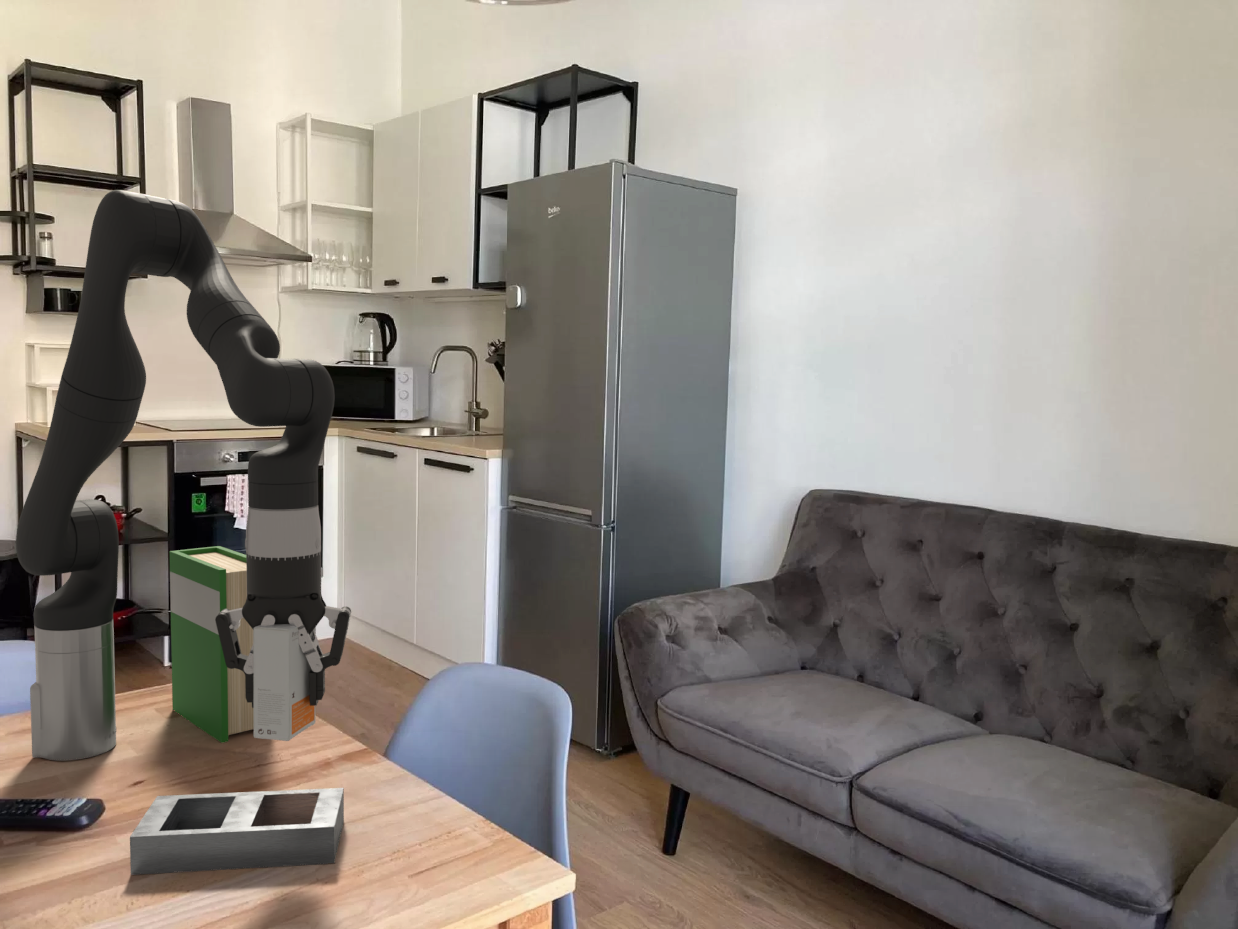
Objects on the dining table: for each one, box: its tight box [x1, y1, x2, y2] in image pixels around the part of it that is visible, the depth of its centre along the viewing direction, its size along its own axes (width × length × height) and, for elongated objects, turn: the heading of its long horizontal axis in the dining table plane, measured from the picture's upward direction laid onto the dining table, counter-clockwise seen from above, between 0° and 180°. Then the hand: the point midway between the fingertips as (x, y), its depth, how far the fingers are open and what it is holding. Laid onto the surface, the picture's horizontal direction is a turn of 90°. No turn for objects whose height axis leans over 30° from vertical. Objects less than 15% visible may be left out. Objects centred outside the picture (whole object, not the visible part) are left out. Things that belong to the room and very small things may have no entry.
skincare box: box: [253, 624, 317, 742], centre depth 110 cm, size 6×4×12 cm
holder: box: [129, 787, 345, 876], centre depth 111 cm, size 20×10×4 cm, turn 99°
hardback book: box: [169, 545, 254, 744], centre depth 148 cm, size 18×7×24 cm, turn 44°
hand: (285, 704), depth 110 cm, fingers closed on skincare box, 5 cm apart
